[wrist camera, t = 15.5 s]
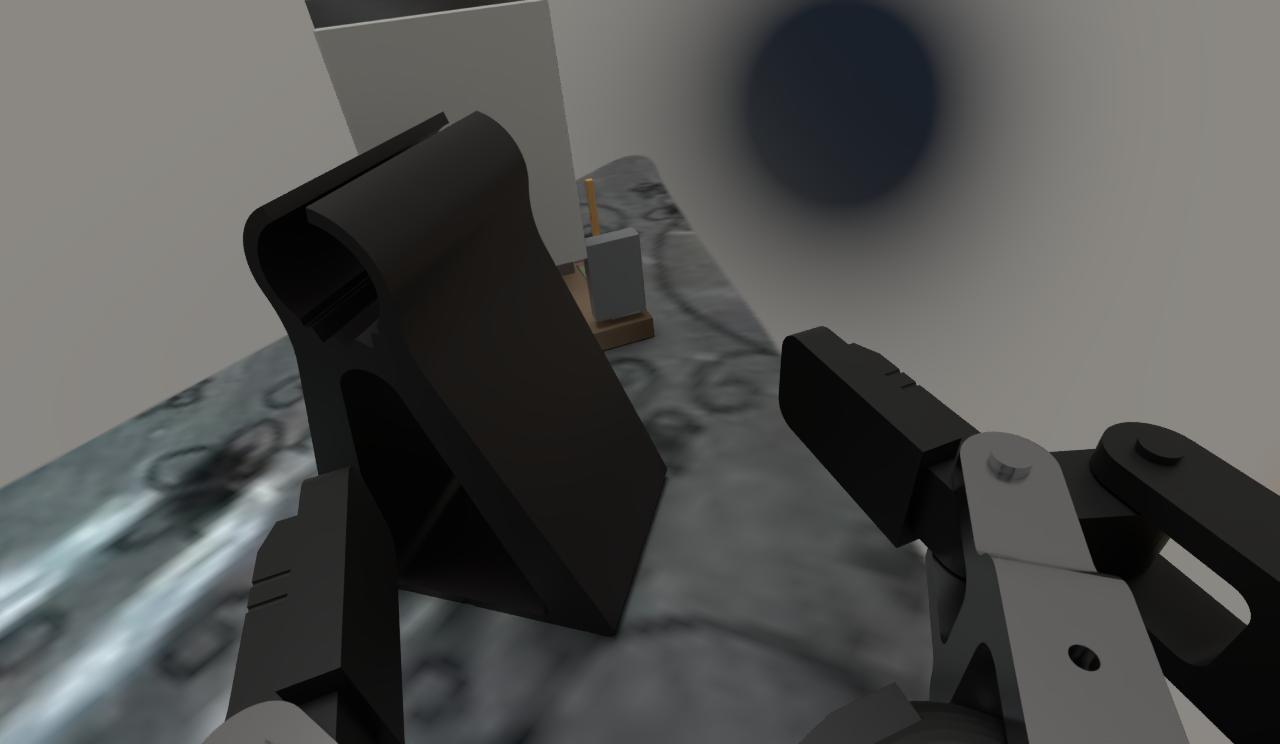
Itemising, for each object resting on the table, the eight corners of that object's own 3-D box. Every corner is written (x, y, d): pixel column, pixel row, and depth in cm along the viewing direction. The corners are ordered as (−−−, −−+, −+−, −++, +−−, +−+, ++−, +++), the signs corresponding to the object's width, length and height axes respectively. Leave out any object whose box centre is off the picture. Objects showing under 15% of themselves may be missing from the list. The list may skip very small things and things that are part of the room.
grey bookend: (385, 411, 25) (207, 24, 16) (382, 329, 30) (248, 5, 22) (654, 336, 27) (622, -29, 19) (607, 273, 33) (567, -34, 24)
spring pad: (436, 365, 24) (313, 31, 17) (434, 355, 25) (315, 28, 18) (646, 309, 27) (616, -10, 19) (639, 301, 27) (608, -12, 20)
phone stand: (340, 575, 18) (90, 201, 11) (442, 442, 23) (312, 113, 16) (615, 640, 16) (524, 215, 9) (668, 477, 20) (638, 106, 13)
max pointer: (592, 283, 29) (577, 187, 26) (585, 273, 30) (570, 178, 27) (619, 276, 29) (607, 180, 26) (611, 267, 30) (599, 172, 27)
